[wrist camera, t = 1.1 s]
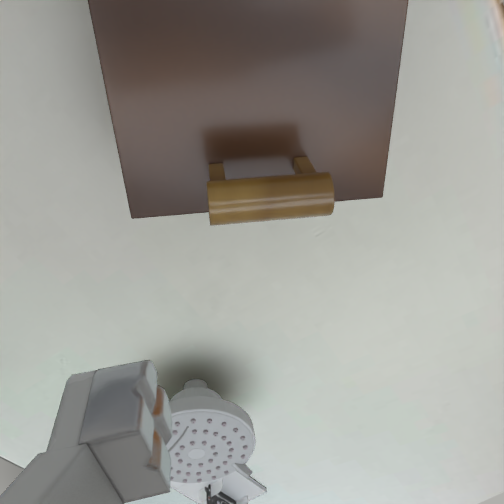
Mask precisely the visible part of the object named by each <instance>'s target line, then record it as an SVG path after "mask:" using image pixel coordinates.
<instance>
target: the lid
mask: <svg viewBox="0 0 504 504" xmlns="http://www.w3.org/2000/svg"><path fill="white" fill-rule="evenodd" d="M88 4H89V9H90V14H91V19H92V24H93V29H94V34H95V39H96V44H97V49H98V54H99V59H100V64H101V69H102V74H103V79H104V84H105V89H106V94H107V99H108V104H109V108H110V113H111V118H112V123H113V128H114V133H115V138H116V143H117V148H118V153H119V158H120V163H121V168H122V173H123V178H124V183H125V188H126V193H127V198H128V203H129V208H130V213H131V218H132V219H133V218H145V217H157V216H169V215H181V214H192V213H204V212H209V218H210V225H211V226H213V225H224V224H236V223H247V222H259V221H270V220H282V219H293V218H305V217H316V216H328V215H331V214H332V212H333V209H334V201H346V200H357V199H369V198H381V197H383V189H384V182H385V174H386V166H387V159H388V151H389V144H390V136H391V128H392V121H393V113H394V106H395V98H396V91H397V83H398V75H399V68H400V60H401V53H402V45H403V38H404V30H405V22H406V15H407V7H408V0H88Z"/></svg>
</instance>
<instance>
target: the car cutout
mask: <svg viewBox="0 0 504 504" xmlns="http://www.w3.org/2000/svg"><path fill="white" fill-rule="evenodd" d="M170 487H171V488H173V489H174V490H176V491H178V492H179V493H181V494H183V495H184V496H186V497H188V498H190V499H191V500H193V501H195V502H196V503H198V504H248V501H250V500H252V499H254V498H256V497H258V496H260V495H262V494H264V493H266V492H267V490H266V488H265V487H264V486H262V485H261V484H259V483H258V482H256V481H255V480H254V479H252V478H251V477H248V478H246V477H245V476H244V475H242V474H241V473H240V472H238V471H237V470H236V471H235V472H233V473H231V474H229V475H227V476H224V477H222V478H219V479H216V480H211V481H207V482H200V483H179V482H173V481H170Z"/></svg>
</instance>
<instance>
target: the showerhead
mask: <svg viewBox="0 0 504 504" xmlns="http://www.w3.org/2000/svg"><path fill="white" fill-rule="evenodd" d="M169 404H170V408H171V416H172V437H171V439H170V440H169V442H168V443H167V445H166V447H167V450H168V452H169V454H170V456H171V480H170V481H173V482H179V483H200V482H207V481H211V480H216V479H219V478H222V477H224V476H227V475H229V474H231V473H233V472H235V471H236V470H237V471H238V472H240V473H241V474H242V475H244V476H245V477H246V478H248V477H249V476H250V475H251V474H252V471H251V470H250V469H249V468H248V467H247V466H246V465H245V463H246V462H247V461H248V460H249V458H250V457H251V455H252V454H253V451H254V449H255V444H256V441H255V434H254V429H253V424H252V421H251V419H250V417H249V415H248V414H247V413H246V412H245V411H244V410H243V409H242V408H241V407H239V406H238V405H236V404H234V403H232V402H230V401H227V400H224V399H222V398H221V397H220V395H219V394H218V393H216V392H215V391H213V390H211V389H208V386H207V384H206V382H204V381H203V380H200V379H193V380H190V381H188V382H186V383H185V385H184V387H183V390H182V391H180V392H178V393H177V394H175V395H174V396H173V397H172V398H171V400H170V401H169Z"/></svg>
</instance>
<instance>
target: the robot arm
mask: <svg viewBox="0 0 504 504" xmlns="http://www.w3.org/2000/svg"><path fill="white" fill-rule="evenodd" d="M157 376H158V372H157V370H156V368H155V366H154V364H153V362H152V361H150V360H145V361H140V362H134V363H129V364H124V365H118V366H113V367H108V368H102V369H98V370H95V371H90V372H84V373H79V374H73V375H71V377H70V378H69V379H68V380H67V382H66V385H65V388H64V392H63V395H62V399H61V402H60V406H59V409H58V413H57V416H56V420H55V423H54V427H53V430H52V434H51V437H50V440H49V444H48V447H47V451H46V452H44V453H40V454H37V456H36V457H35V458H34V459H33V460H32V461H31V462H30V463H29V464H28V466H27V467H26V468H25V469H24V470H23V471H22V472H21V473H20V474H19V476H18V477H17V478H16V479H15V480H14V481H13V482H12V483H11V484H10V485H9V487H8V488H7V489H6V490H5V491H4V492H3V493H2V494H1V496H0V504H123V503H127V502H131V501H135V500H139V499H143V498H147V497H152V496H156V495H160V494H164V493H168V492H170V480H171V456H170V454H169V452H168V450H167V447H166V445H167V443H168V442H169V440H170V439H171V437H172V416H171V408H170V404H169V400H168V397H167V394H166V392H165V389H164V388H163V387H161V386H159V385H157Z"/></svg>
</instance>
